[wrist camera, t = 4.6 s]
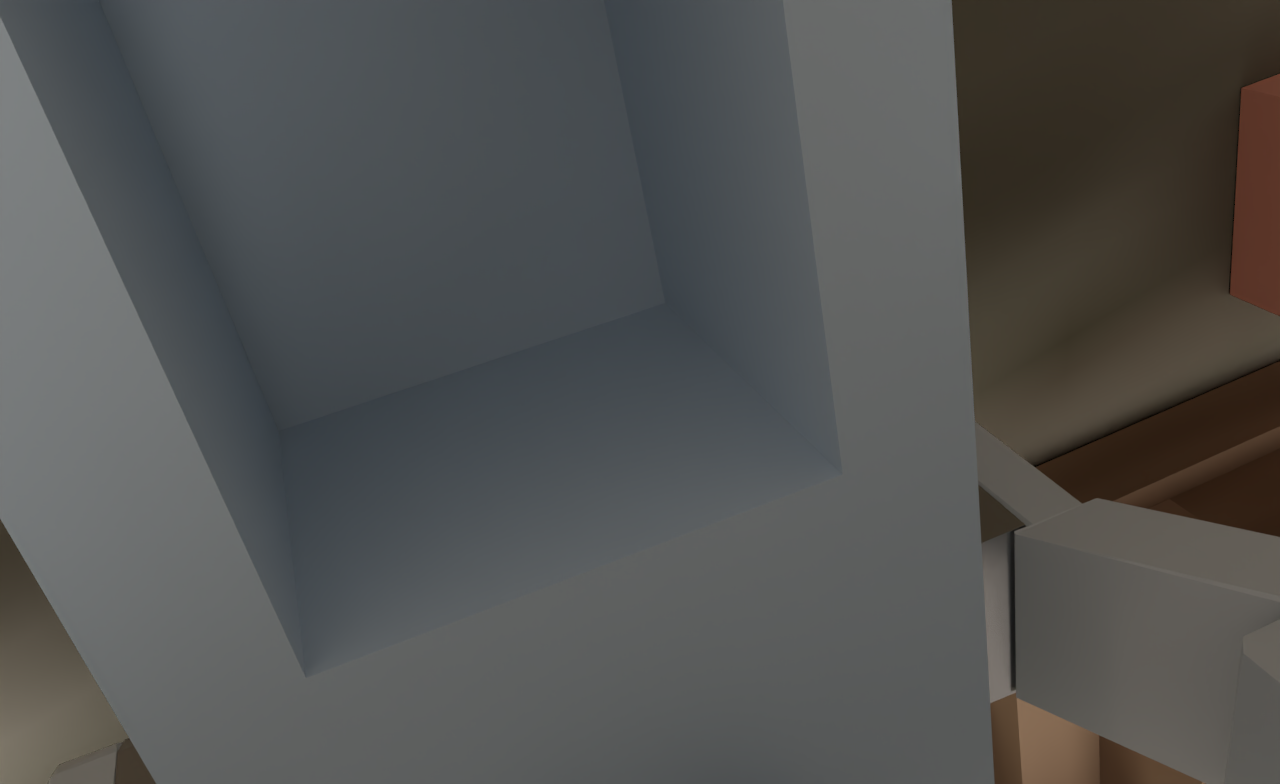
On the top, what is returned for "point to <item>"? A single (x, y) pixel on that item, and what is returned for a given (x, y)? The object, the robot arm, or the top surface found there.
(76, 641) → the grey cinder block
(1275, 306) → the terracotta rectangular prism
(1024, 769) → the brown rectangular block
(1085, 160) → the top surface
